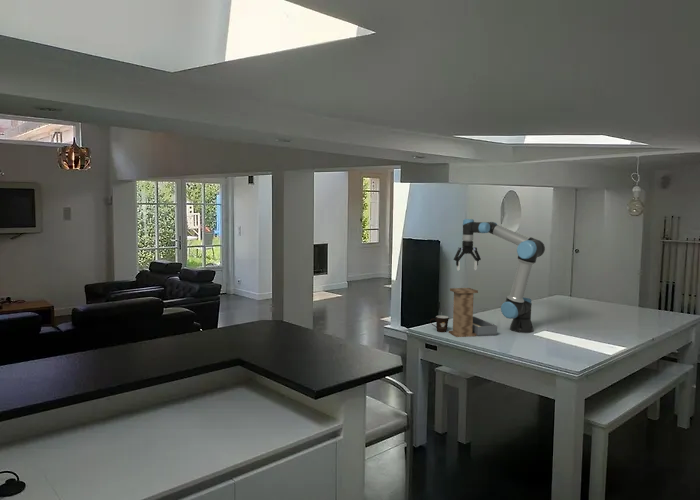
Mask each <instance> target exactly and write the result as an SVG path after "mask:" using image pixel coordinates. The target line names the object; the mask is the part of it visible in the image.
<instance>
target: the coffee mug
mask: <svg viewBox="0 0 700 500" xmlns="http://www.w3.org/2000/svg"><path fill="white" fill-rule="evenodd" d="M433 320H434V321H435V322H436V325H435V324H433V323H432V321H433ZM449 320H450V318H449V316H448V315H436V316H435V317H434V318H433V317H432V318H431V319H430V324H431V325H432V326H433V327H435V328H436V332H438V333H447V331H448V325H449Z"/></svg>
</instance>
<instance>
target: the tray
mask: <svg viewBox="0 0 700 500" xmlns="http://www.w3.org/2000/svg"><path fill="white" fill-rule="evenodd" d="M473 323H475V324H477V325H479V326H481V327H478V326H476V325H474V324H473V326H472V332H473V333H476V336H475V337H486V336H487V337H488V336H498V325H495V324H493V323H491V322H489V321H486V320H484V319H482V318H480V317H477V316H474V315H473Z"/></svg>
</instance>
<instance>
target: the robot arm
mask: <svg viewBox="0 0 700 500" xmlns="http://www.w3.org/2000/svg"><path fill="white" fill-rule="evenodd" d="M474 233H476V234H492V235H493V236H496V237H498V238H500V239H503V240H505V241H507V242H509V243H511V244H513V245H517V249H516V253H517V260H518V264H517V268H516V272H515V275H514V278H513V282H512V285H511V289H510V293H509V295H506V298H505V301H504V302H503V303H502V304H501V306H500V311H501V314H502V315H503V317H504V318H506V319H511V320H512V321H511V323H510V326H509V330H511V331H512V332H516V333H525V334H526V333H532V332H534V326H533V323H532V306H533V305H532V299H531V297H524V296H525V292H526V288H527V285H528V281H529V277H530V274H531V271H532V267H533V265H534V264H536V262H537V259H538V258H540V257H541V256H543V254H544V253H545V251H546V247H545V244H544V243H543V242H542V241H541V240H539V239H537V238H534V237H530V236H529V237H528V236H525V235H523V234H520V233H518V232H516V231H513V230H511V229H509V228H506V227H504V226H501V225H500V224H497V222H494V221H480V222H479V221H478V222H477V221H475V220H474V219H473V218H471V219H470V218H464V219H463V220H462V241H461V242H462V243H461V244H462V247H460V246H459V247H458V248H457V251H456V254H455V255H454V257H453V261H455V265H456V270H457V272H458V271H461V270H460V269H461V266H460V265H461V261H460V260H461V259H462V258H463V256H464V255H465V254H466V255H467V254H468V255H471V257H472V258H473V261H474V263H473V264H474V265H473V270H474V271H477V270H478V266H479V261H481V256H480V254H479V251H478V247H474ZM473 251H474V252H473Z"/></svg>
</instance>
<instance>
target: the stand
mask: <svg viewBox="0 0 700 500" xmlns="http://www.w3.org/2000/svg"><path fill="white" fill-rule="evenodd" d="M449 291H450V292H453V306H452V307H453V310H452V311H453V313H452V330H448V334H449V335H452V336H454V337H455V338H467V337H477V336H476V333H473V332H472V326H473V316H474V294H478V293H479V290H477V289H474V288H471V287H456V288H455V287H454V288H453V287H451V288H449Z"/></svg>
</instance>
